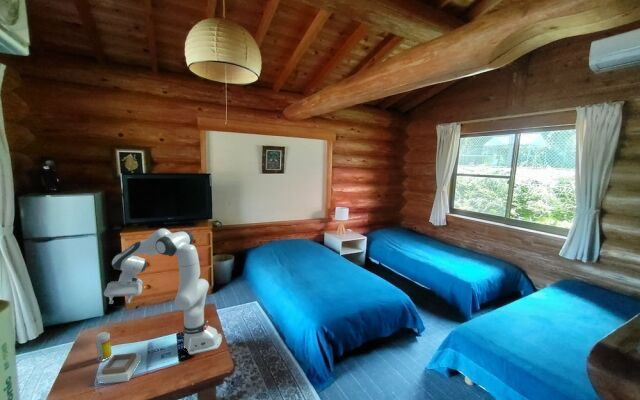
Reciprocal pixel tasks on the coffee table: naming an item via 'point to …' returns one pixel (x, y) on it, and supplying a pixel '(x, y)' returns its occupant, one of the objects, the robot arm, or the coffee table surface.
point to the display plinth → (119, 368)
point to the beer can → (103, 345)
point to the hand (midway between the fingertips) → (119, 303)
